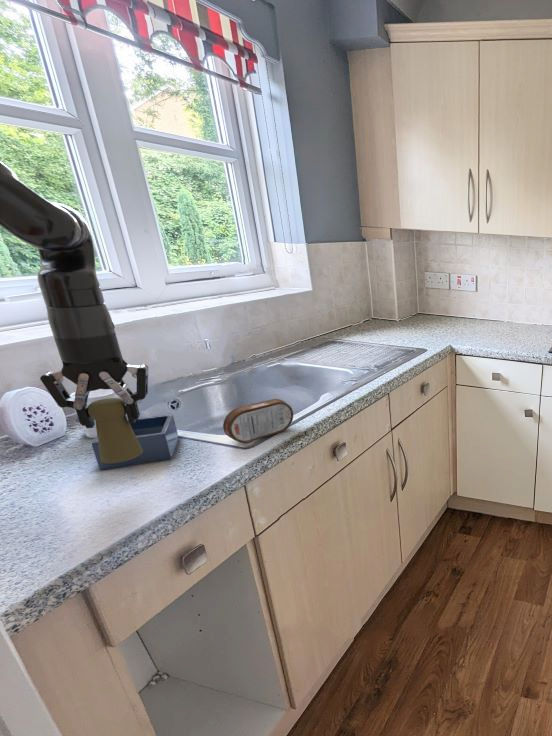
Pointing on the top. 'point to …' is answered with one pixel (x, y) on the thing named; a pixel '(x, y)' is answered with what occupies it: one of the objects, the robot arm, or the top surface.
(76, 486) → the top surface
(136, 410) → the robot arm
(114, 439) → the cork
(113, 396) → the white cup
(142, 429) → the holder
